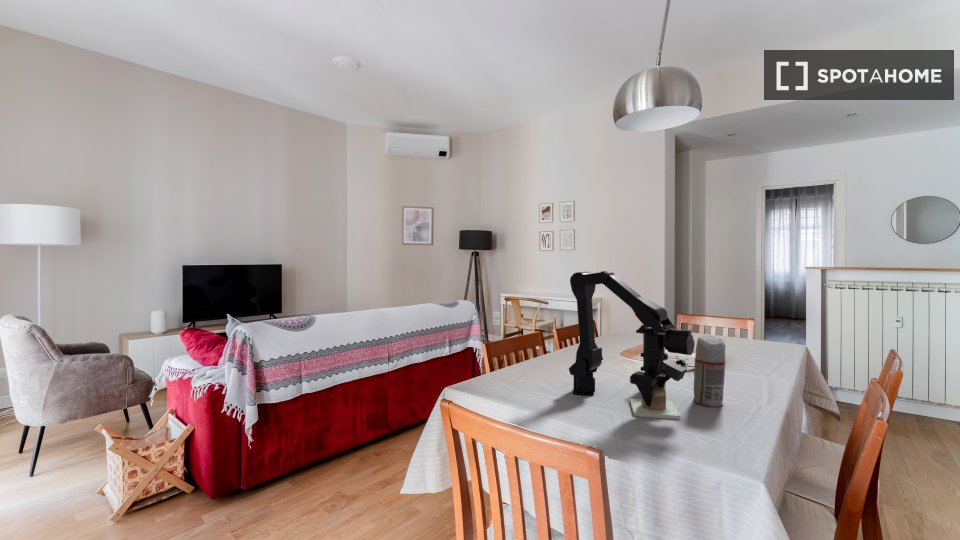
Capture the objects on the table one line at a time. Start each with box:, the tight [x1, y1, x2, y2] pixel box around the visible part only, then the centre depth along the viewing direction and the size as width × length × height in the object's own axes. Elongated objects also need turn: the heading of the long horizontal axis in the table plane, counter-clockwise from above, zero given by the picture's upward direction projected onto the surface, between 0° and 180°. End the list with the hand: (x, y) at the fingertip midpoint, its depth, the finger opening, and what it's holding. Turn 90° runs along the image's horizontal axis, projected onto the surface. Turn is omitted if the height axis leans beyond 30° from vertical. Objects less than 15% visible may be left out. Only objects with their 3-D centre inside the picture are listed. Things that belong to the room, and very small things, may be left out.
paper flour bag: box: [693, 335, 726, 407], centre depth 128 cm, size 8×8×20 cm
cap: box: [641, 387, 667, 411], centre depth 123 cm, size 6×6×6 cm
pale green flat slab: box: [629, 397, 681, 420], centre depth 123 cm, size 12×12×4 cm
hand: (653, 403), depth 123 cm, fingers closed on cap, 7 cm apart
